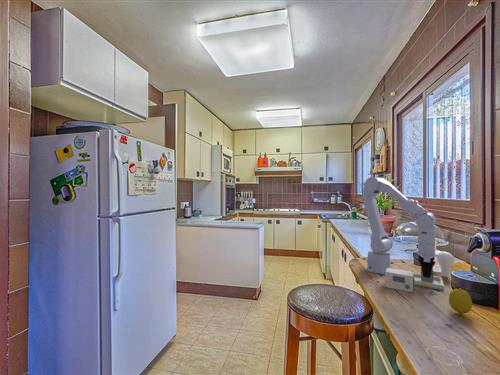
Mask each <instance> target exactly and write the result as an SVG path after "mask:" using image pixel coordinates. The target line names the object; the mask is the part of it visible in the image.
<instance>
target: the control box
mask: <svg viewBox="0 0 500 375" xmlns="http://www.w3.org/2000/svg"><path fill="white" fill-rule="evenodd" d="M413 273H414V272H413V271H411V270H410V271H409V270H404V269H397V268H391V267H390V268H387V269H386V275H385V288H390V289H395V290H397V291H398V290H399V291H403V292H409V293H414V287H415V285H414V284H415V278H414V275H413Z"/></svg>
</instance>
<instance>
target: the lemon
mask: <svg viewBox="0 0 500 375" xmlns="http://www.w3.org/2000/svg"><path fill="white" fill-rule="evenodd" d="M448 296H449V297H448V303H449V305H450V307H451V309H452V310H454V311H455V312H457V313H458V314H459V315H463V314H467V313H470V311H471V310H472V307H473V300H472V297H471V295H470V294H469V293H468V292H467V291H466V290H464V289H462V288H461V287H460V288H455V289H453V290H451V291H450V293H449V295H448Z"/></svg>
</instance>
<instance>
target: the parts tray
mask: <svg viewBox="0 0 500 375" xmlns="http://www.w3.org/2000/svg"><path fill="white" fill-rule="evenodd" d="M413 275H414V278H415V284H414V286H418V287H424V288H429V289H434V290H440V291H444V290H445V286H444V282H443V277H442V276H435V275H433V283H431V282H425V281H421V273H418V272H413Z"/></svg>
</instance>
